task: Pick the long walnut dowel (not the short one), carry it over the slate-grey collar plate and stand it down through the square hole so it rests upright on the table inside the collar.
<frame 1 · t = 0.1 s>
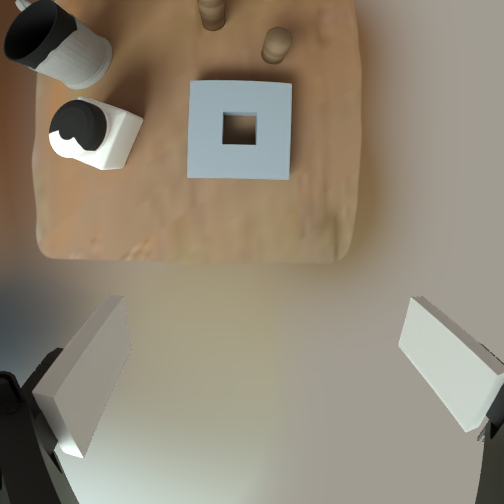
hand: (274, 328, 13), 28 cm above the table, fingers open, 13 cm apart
long pin: (213, 22, 32), on the table
short pin: (272, 54, 34), on the table
collar plate: (239, 130, 36), on the table
medicine bottle: (112, 135, 36), on the table
grey black mug: (78, 51, 31), on the table
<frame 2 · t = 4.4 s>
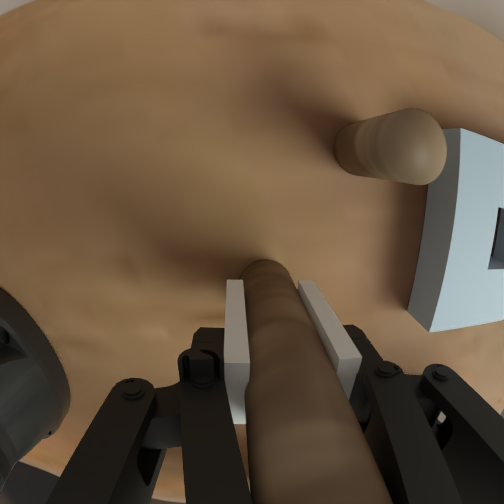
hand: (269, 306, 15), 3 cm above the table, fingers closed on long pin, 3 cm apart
long pin: (265, 285, 17), on the table, touching gripper
short pin: (359, 149, 16), on the table
collar plate: (482, 229, 17), on the table
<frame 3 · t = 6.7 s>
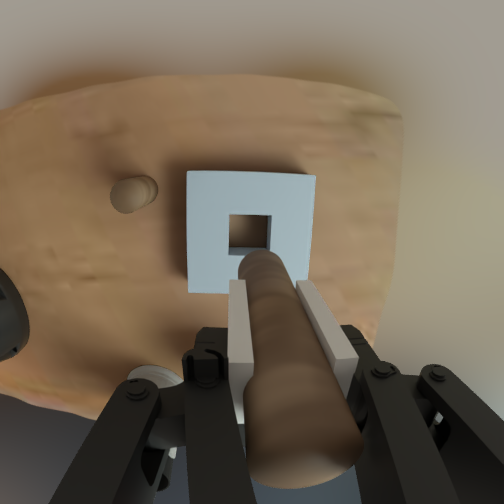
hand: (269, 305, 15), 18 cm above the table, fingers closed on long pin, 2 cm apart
long pin: (261, 272, 20), point 13 cm above the table, touching gripper
short pin: (144, 190, 30), on the table
collar plate: (248, 228, 32), on the table
grey black mug: (144, 395, 38), on the table
when the fingers open (5 cm above the table, at t = 9.1 s): long pin stays where it is, resting in collar plate.
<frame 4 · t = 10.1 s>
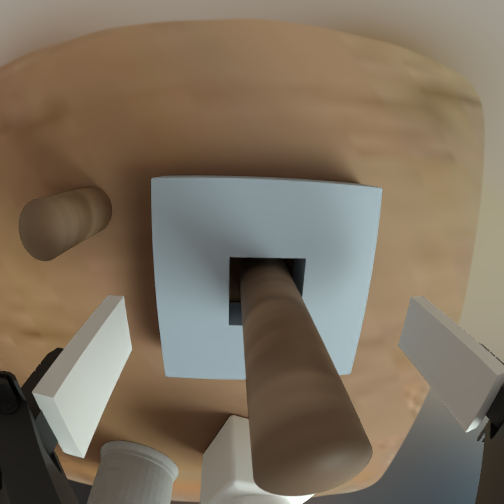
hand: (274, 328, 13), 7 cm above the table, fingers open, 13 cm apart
long pin: (263, 274, 19), resting in collar plate
short pin: (91, 209, 17), on the table
collar plate: (261, 274, 19), on the table
medicine bottle: (251, 442, 24), on the table
grey black mug: (124, 467, 25), on the table
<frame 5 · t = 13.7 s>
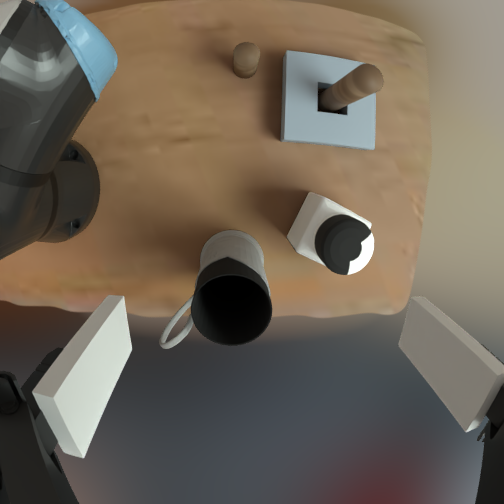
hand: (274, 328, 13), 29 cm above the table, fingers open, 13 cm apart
long pin: (326, 102, 37), resting in collar plate
short pin: (244, 68, 35), on the table
collar plate: (326, 102, 37), on the table
medicine bottle: (319, 225, 42), on the table
grey black mug: (216, 271, 43), on the table
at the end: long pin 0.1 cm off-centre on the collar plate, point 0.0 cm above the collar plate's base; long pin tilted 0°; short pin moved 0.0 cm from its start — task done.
